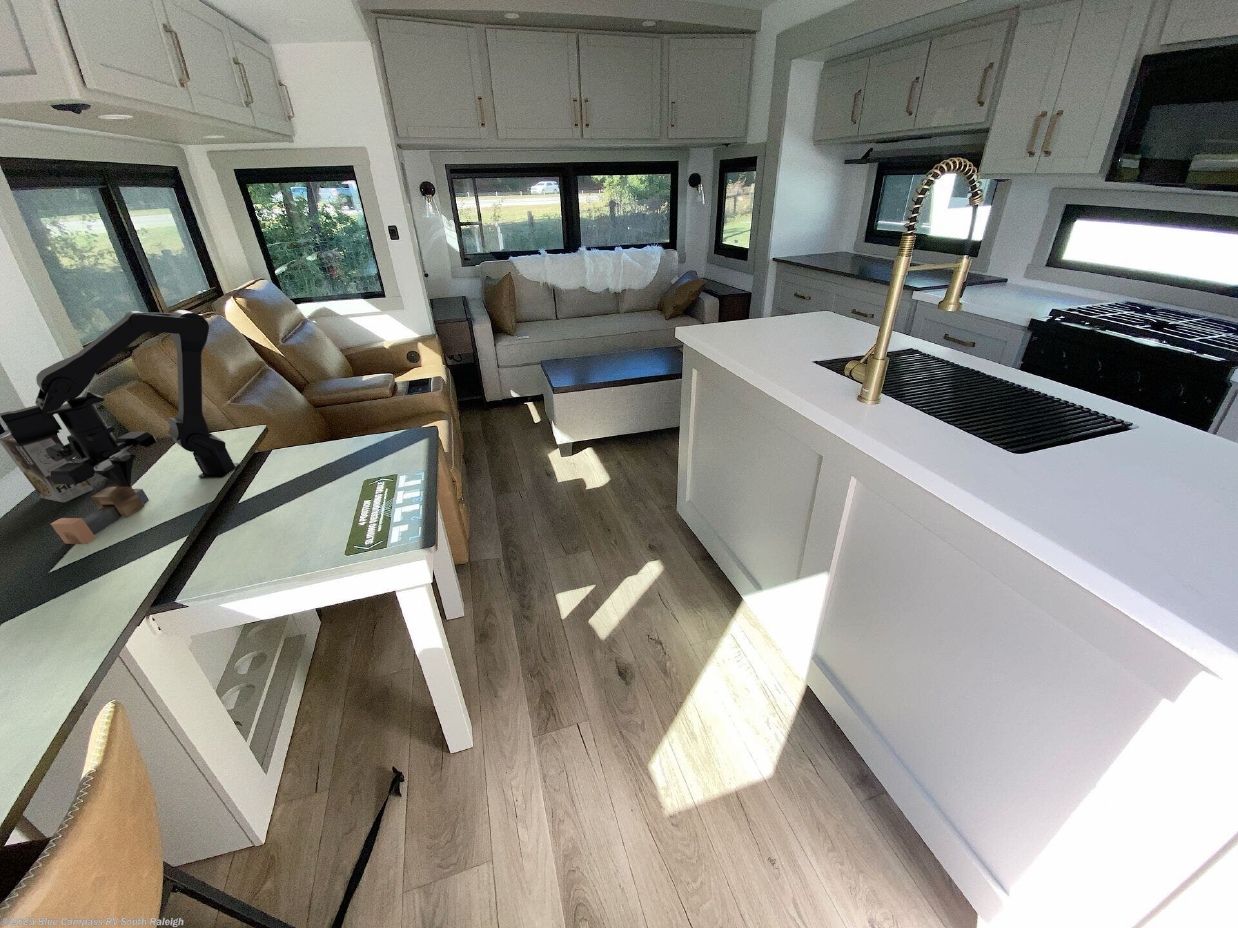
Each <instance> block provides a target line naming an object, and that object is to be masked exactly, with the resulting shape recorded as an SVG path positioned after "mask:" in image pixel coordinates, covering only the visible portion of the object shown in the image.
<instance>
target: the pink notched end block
mask: <svg viewBox="0 0 1238 928" xmlns="http://www.w3.org/2000/svg"><path fill="white" fill-rule="evenodd" d="M83 519H84V518H82V517H78V518H77V517H76V518H75V517H73V518H72V517H61V518H59V519H57V520H55V521H53V522H51V523H50V526H51V527H52V528H53V530H54V531H55V532H56V534H57V535H58V536H59V537H60V538H61V540H62V541H63V543H64V544H67V545H69V544H71V542H73V543H72V544H71V545H75V544H76V543H77V545H87V544H89V543H90V542H92V541H93V540H95V539H96V538H97V537H96V536H95V535H94V534H93V533H92V531H91V530H90V529H89V527H88V526H87V524H86V523H85V522H84V520H83ZM66 533H68V534H70V535H66ZM72 533H73V534H72ZM64 534H65V535H64ZM71 535H72V536H71ZM65 536H66V537H65ZM70 537H72V538H70ZM68 539H73V540H77V539H78V540H79V542H80V543H81V544H79V542H78V541H73V540H68ZM75 542H76V543H75Z"/></svg>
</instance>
